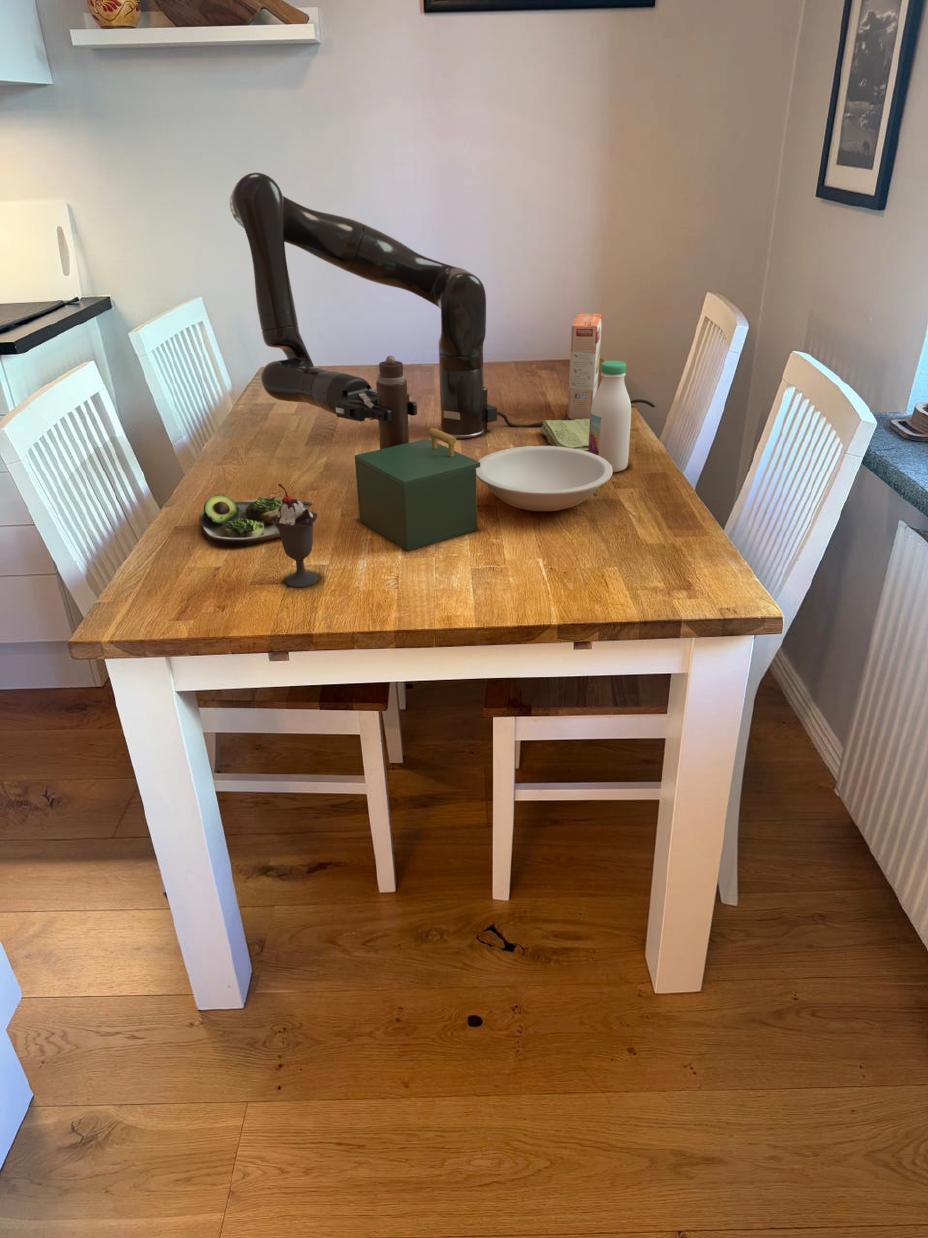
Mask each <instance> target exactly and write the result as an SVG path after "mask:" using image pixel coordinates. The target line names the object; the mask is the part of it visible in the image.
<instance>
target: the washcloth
mask: <svg viewBox="0 0 928 1238" xmlns="http://www.w3.org/2000/svg"><path fill="white" fill-rule="evenodd" d="M543 422H544V423H543V425H542V426H541V428H540V432H541V434H542V435H543V436H545V438H546V441H547V442H548V443H549V444H550V445H551V446H558V447H567V448H573V449H578V450H583V451H586V452H588V446H589V428H590V419H579V420H578V419H575V420H566V421H564V420H563V421H562V419H554V420H553V419H549V420H547V419H546V420H544V421H543Z"/></svg>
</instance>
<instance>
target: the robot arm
mask: <svg viewBox="0 0 928 1238" xmlns="http://www.w3.org/2000/svg"><path fill="white" fill-rule="evenodd" d="M229 209H230V212H231V215H232V217H233V219H234V220H235V222H236V223H237V224H238V225H239V226H240V227H242V228H243V229H244V231H245V236H246V238H247V241H248V245H249V249H250V254H251V260H252V266H253V276H254V289H255V290H254V291H255V298H256V299H255V300H256V301H255V302H256V308H257V314H258V319H259V325H260V330H261V334H262V339H263V342H264V344H265V346H267V347H270V348H276V349H280V350H281V351H282V352H283V353H284V355H285V357H286V359H279V360H273V361H271V362H268V363H267V364H266V365H265V366H264V367H263V369H262V370H261V374H260V381H261V385H262V387H263V389H264V391H265V392H266V393H267V395H269V396H270V397H272V399H273V398H274V399H276V400H279V401H283V402H291V403H306V404H309V405H312V406H314V407H317V408H320V409H322V410H324V411H326V412H327V413H331V414H334V415H336V418H341V419H345V420H346V419H347V420H351V421H356V422H360V423H361V422H365V420H366V419H367V420H369V421H374V420H376V421H378V420H379V421H382V422H385V423H389V422H391V421H392V418H391V411H390V410H389V409H386V408H383V407H380V406H378V405H377V388H372V386H371V385H370V383H369V382H368V381H367V380H366V379H364V378H362V377H360V376H355V375H352V374H348V373H345V372H341V371H338V370H337V371H336V370H329V369H325V368H322V367H317V366H315V365H314V363H313V360H312V359H311V356H310V354H309V352H308V349H307V347H306V345H305V342H304V340H303V338H302V335H301V333H300V329H299V322H298V316H297V311H296V304H295V301H294V300H295V299H294V295H293V289H292V284H291V279H290V273H289V268H288V262H287V255H286V246H285V245H286V244H290V245H293V246H295V247H298V249H299V248H300V249H301V250H303V251H305V252H307V253H309V254H311V255H313V256H315V257H317V258H318V259H320V260H322V261H325V262H326V263H329V264H330V265H333V266H335V267H337V268H339V269H341V270H343V271H345V272H347V273H350V274H352V275H355V276H357V277H360V278H361V279H364V280H366V281H367V280H368V281H369V282H373V283H376V284H380V285H384V286H388V287H392V288H398V289H401V290H404V291H408V292H410V293H412V294H414V295H417V296H418V297H420V298H422V299H424V300H426V301H428V302H429V303H431V304H433V305H434V306H436V307H438V308H439V309H440V326H441V328H440V337H439V338H438V368H439V369H438V370H439V371H438V372H439V402H440V405H439V406H440V431H442V432H444V433H446V434H449V435H451V436H453V437H455V438H456V439H471V438H477V437H480V436H482V435H483V434H485V433H486V432H488V431H489V429H488V428H489V427H488V426H489V425H488V424H490V423H494V422H497V421H498V416H500V417H502V418H503V420H504V422H505V424H506V425H507V426H509V427H512V428H537V427H542V425H543V423H544V421H541V422H535V423H529V424H515V423H513V422H511V421H509V419H508V417H507V416H506V414H504V413H503V412H500V411H498V407H497V406H494V405H491V404H489V403H488V388H487V387H486V386H485V385H484V343H485V339H486V332H487V294H486V289H485V286H484V283H483V282H482V281H481V279H480V278H479V277H478V276H477V275H475V274H473V273H472V272H471V271H468V270H467V269H464V268H461V267H457V266H453V265H450V264H447V263H444V262H441V261H438V260H435V259H432V258H429V257H427V256H424V255H422V254H420V253H418V252H416V251H414V250H413V249H411V248H410V247H408V246H406V245H405V244H403V243H402V242H401V241H398V240H397V239H395V238H393V237H392V236H390V235H388V234H386V233H384V232H383V231H380V230H378V229H376V228H374V227H372V226H369V225H367V224H365V223H362V222H361V221H357V220H355V219H352V218H350V217H349V218H348V217H345V216H341V215H337V214H332V213H327V212H323V211H318V210H315V209H311V208H309V207H306V206H303V205H301V204H300V203H297V202H296V201H293V200H291V199H289V198H288V197H286V196H284V194H283V193H282V189H281V188H280V186H279V185H278V183H277V182H276V181H275V180H274V179H273V178H272V177H271V176H269V175H267V174H265V173H261V172H251V173H247V174H246V175H244V176H243V177H241V178H240V179H238V182H237V183H236V184H235V185H234V188H233V189H232V192H231V194H230V197H229ZM285 243H286V244H285ZM407 401H408V416H411V417H412V416H417V415H418V404H417V402H414V401H412V400H410V394H409V393H407ZM630 402H631V404H637V403H641V404H642V403H643V404H646V405H648V406H650V407H651V408H656V405H655V404H654V403H652V402H651V401H649V400H646V399H639V398H638V399H630ZM561 420H562V421H563V420H564V421H566V420H571V418H567V417H566V418H562V419H561Z"/></svg>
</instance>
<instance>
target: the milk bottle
mask: <svg viewBox="0 0 928 1238" xmlns="http://www.w3.org/2000/svg"><path fill="white" fill-rule="evenodd" d="M626 373H627V363H626V362H624V361H621V360H605V361H603V362H601V364H600V376H601V379H600V383H599V385H598V387H597V392H596V394H595V396H594V399H593V401H592V406H591V413H590V428H589V446H588V452H590V453H593V454H595V455H598V456H600V457H602V458H604V459H605V460H606V461H608V462H609V463H610V464H611V466H612V469H613V473H618V472H621V471H624V470H626V469H627V468H628V465H629V452H630V441H631V440H630V439H631V426H632V425H631V424H632V423H631V422H632V403H631V402H630V400H631V399H630V396H629V393H628V390H627V387H626V383H625V376H626V375H627V374H626Z"/></svg>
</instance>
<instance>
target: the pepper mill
mask: <svg viewBox="0 0 928 1238" xmlns="http://www.w3.org/2000/svg"><path fill="white" fill-rule="evenodd" d="M378 368H379V369H378V375H377V380H376V381H375V383H376V389H377V405H378V406H380V407H383V408H386V409H389V410H390V411H391V418H392V421H391V422H389V423H385V422H382V421H379V420H377V423H378V441H379V450H380V449H384V448H389V447H393V446H397V445H402V444H406V443H410V434H409V433H410V429H409V428H410V427H409V414H408V401H407V394H408V381H407V379H406V374H405V373H404V363H403V362H401V361H399V360H396V358H395V357H394V356H393V355H388V356H386V357H385V360H384V361H381V362H379V363H378Z"/></svg>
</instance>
